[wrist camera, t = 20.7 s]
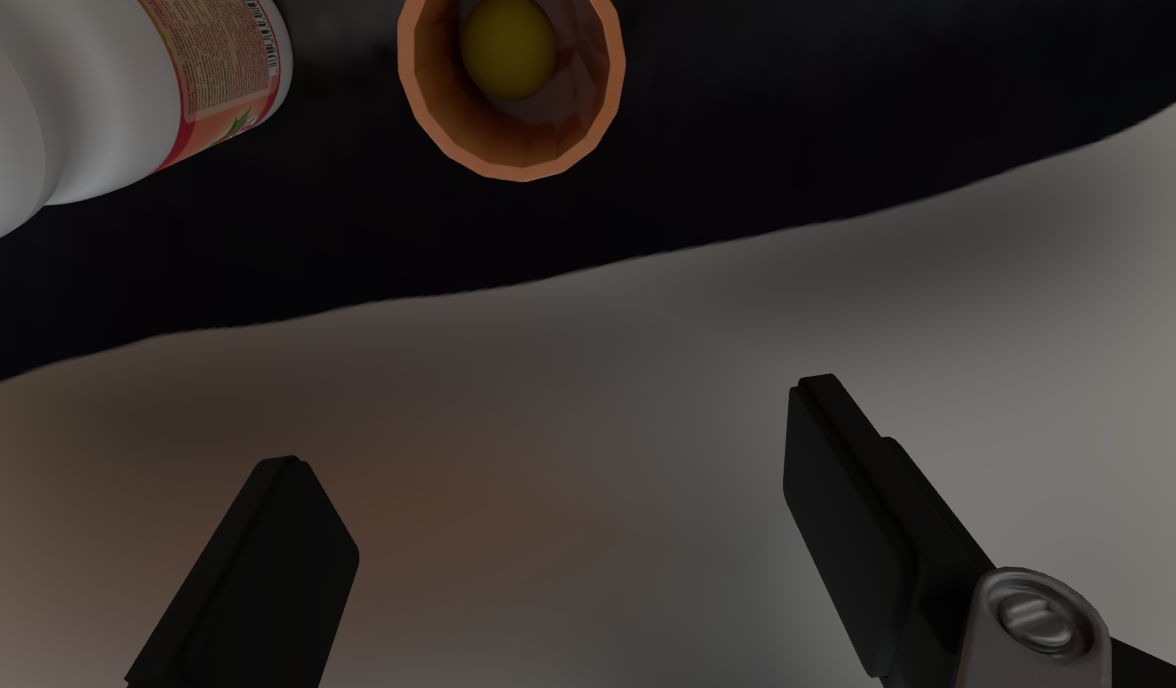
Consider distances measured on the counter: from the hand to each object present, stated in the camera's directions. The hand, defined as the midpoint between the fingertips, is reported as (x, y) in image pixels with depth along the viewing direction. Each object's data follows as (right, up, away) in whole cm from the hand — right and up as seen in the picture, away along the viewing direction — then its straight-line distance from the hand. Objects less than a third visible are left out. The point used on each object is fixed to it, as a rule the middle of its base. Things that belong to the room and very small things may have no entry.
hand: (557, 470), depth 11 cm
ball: (-4, +18, +18) cm, 26 cm away
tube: (-3, +20, +21) cm, 29 cm away
